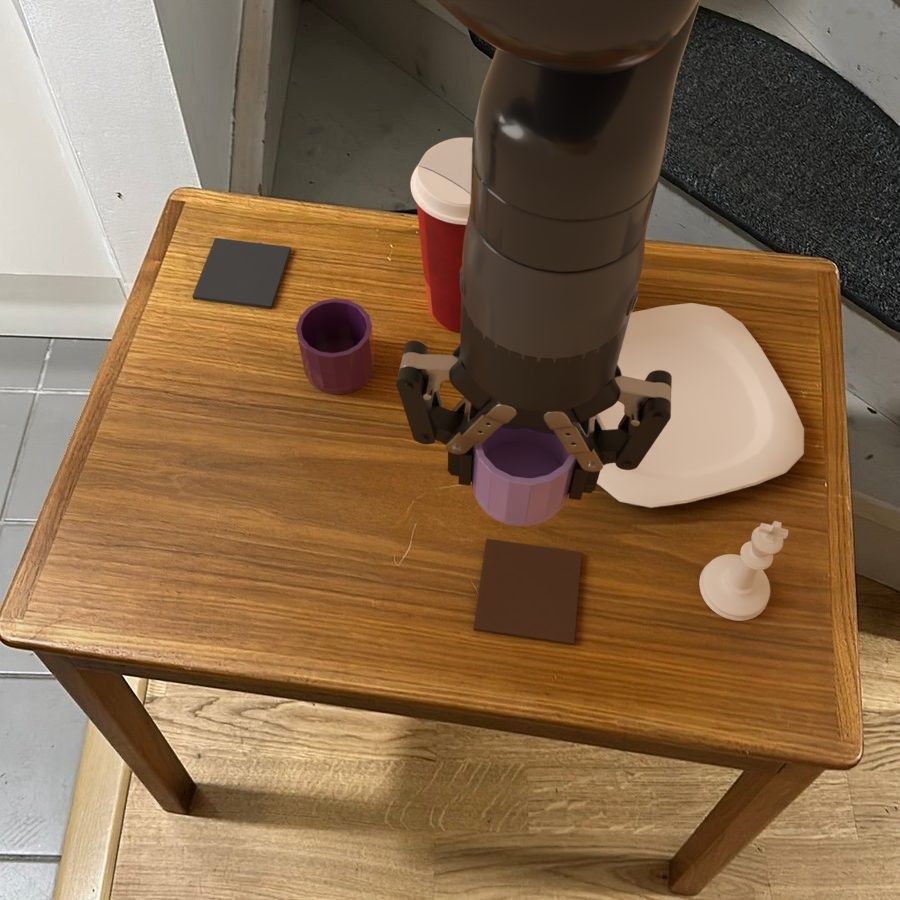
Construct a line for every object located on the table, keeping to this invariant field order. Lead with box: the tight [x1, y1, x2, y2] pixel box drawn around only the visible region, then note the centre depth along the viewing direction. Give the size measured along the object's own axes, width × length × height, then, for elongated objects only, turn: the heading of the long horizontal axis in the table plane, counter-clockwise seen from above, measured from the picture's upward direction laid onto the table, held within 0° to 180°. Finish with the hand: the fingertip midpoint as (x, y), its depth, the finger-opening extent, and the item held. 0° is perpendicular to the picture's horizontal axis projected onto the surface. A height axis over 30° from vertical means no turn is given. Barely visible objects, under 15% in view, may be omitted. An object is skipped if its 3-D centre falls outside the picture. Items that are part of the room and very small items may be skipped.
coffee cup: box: [410, 137, 473, 333], centre depth 73 cm, size 8×8×15 cm
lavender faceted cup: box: [471, 427, 577, 527], centre depth 53 cm, size 6×6×5 cm
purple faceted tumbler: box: [295, 297, 376, 395], centre depth 74 cm, size 6×6×5 cm
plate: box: [596, 302, 805, 510], centre depth 73 cm, size 18×18×2 cm
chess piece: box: [698, 520, 789, 622], centre depth 62 cm, size 5×5×10 cm
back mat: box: [191, 237, 292, 310], centre depth 81 cm, size 7×7×1 cm
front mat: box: [472, 538, 583, 646], centre depth 66 cm, size 7×7×1 cm
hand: (520, 478), depth 54 cm, fingers closed on lavender faceted cup, 6 cm apart
